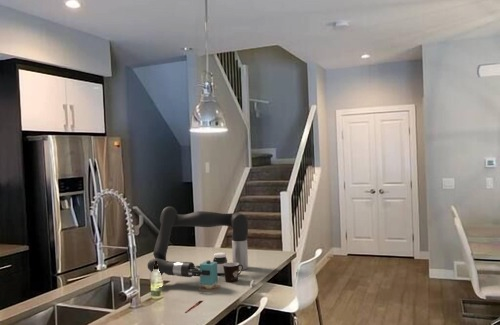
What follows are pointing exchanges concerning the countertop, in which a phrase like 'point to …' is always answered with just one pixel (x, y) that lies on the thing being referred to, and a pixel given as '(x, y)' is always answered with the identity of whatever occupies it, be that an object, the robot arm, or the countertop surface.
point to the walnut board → (203, 288)
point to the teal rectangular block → (213, 273)
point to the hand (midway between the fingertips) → (212, 271)
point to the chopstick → (194, 306)
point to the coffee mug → (231, 272)
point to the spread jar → (220, 262)
